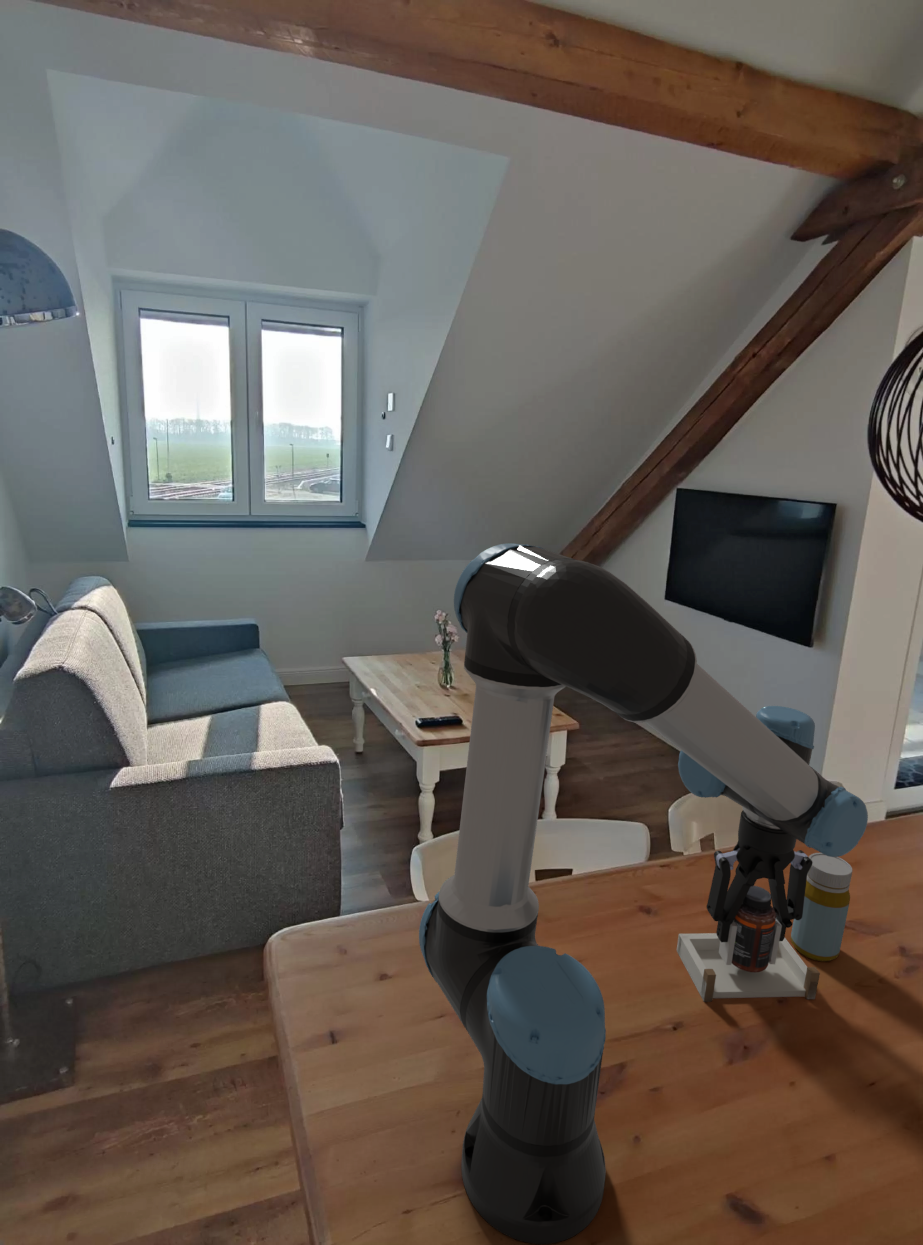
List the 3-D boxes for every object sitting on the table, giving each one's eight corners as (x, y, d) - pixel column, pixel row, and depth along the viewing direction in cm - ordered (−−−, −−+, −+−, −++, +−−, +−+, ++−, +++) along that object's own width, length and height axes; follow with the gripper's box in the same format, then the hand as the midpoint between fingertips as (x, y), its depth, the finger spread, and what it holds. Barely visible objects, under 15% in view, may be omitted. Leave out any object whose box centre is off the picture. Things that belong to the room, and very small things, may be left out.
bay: (814, 999, 105) (819, 973, 104) (703, 1001, 103) (707, 975, 102) (778, 949, 115) (782, 924, 114) (676, 950, 114) (679, 925, 113)
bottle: (780, 939, 117) (794, 855, 114) (812, 930, 120) (827, 848, 117) (815, 968, 111) (832, 880, 108) (848, 957, 114) (866, 871, 110)
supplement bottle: (771, 957, 109) (783, 890, 106) (763, 980, 104) (775, 911, 102) (730, 941, 112) (740, 876, 110) (720, 963, 107) (731, 895, 105)
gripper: (819, 803, 107) (794, 940, 113) (693, 803, 105) (674, 942, 111) (850, 830, 100) (821, 975, 105) (715, 830, 98) (694, 977, 104)
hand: (746, 958), depth 108 cm, fingers closed on supplement bottle, 6 cm apart
